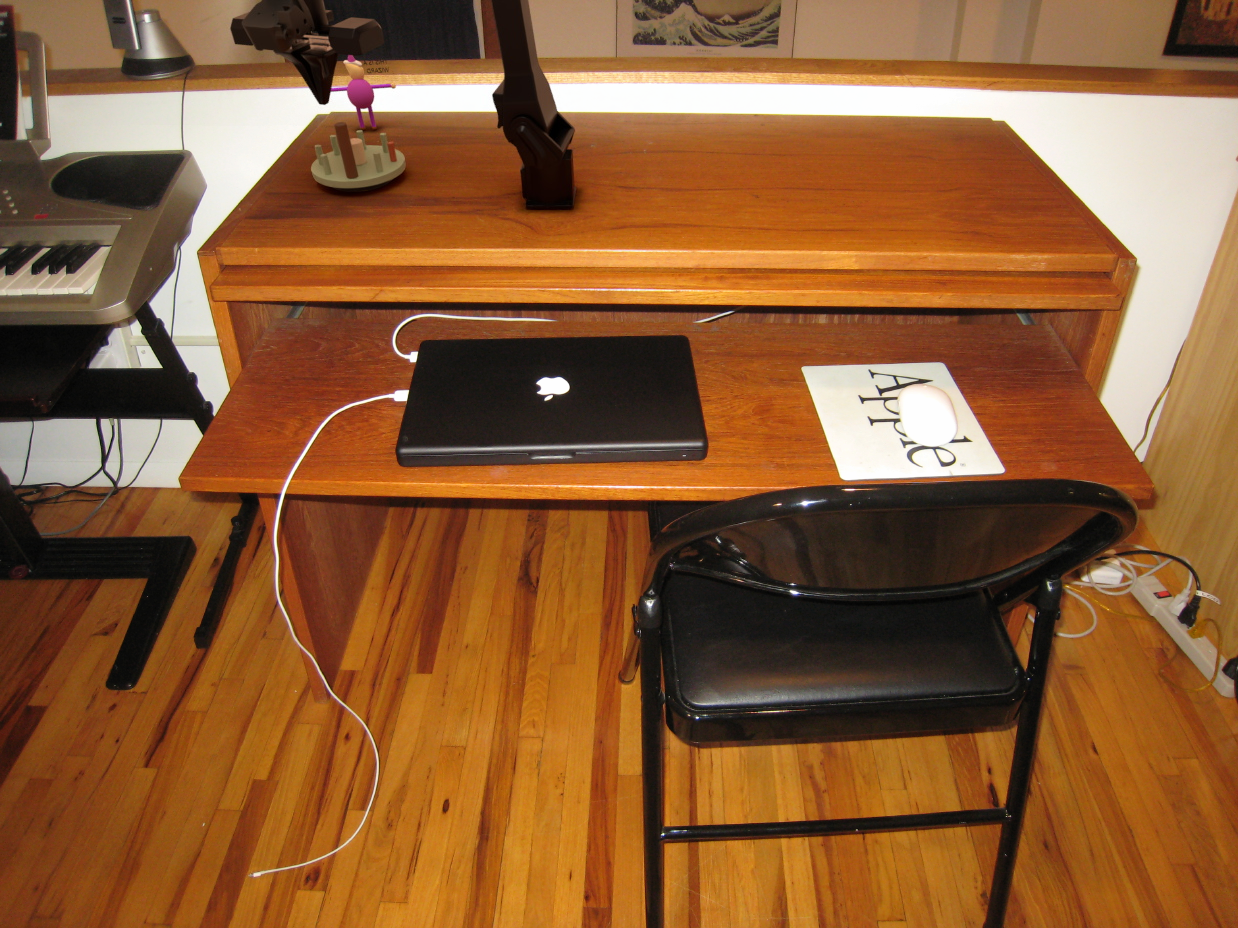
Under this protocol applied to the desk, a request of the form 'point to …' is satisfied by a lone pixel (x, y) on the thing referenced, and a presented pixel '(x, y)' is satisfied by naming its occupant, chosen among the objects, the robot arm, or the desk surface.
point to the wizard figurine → (361, 88)
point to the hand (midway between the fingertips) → (324, 104)
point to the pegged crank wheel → (356, 161)
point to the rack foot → (363, 187)
